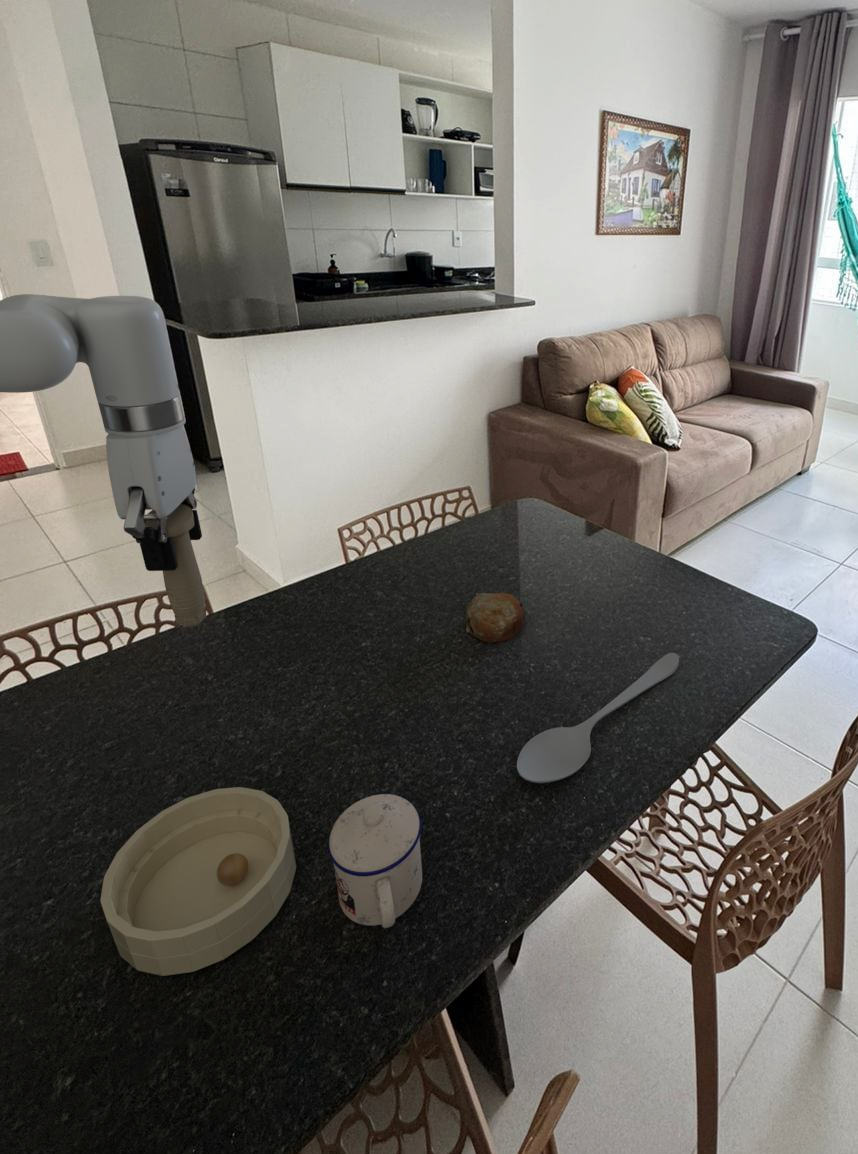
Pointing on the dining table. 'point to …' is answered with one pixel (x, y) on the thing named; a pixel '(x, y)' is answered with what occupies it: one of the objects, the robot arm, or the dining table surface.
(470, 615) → the bread roll
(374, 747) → the dining table surface
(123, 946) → the bowl
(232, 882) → the egg
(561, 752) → the spoon
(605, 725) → the dining table surface
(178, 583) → the handle
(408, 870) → the teacup with lid
